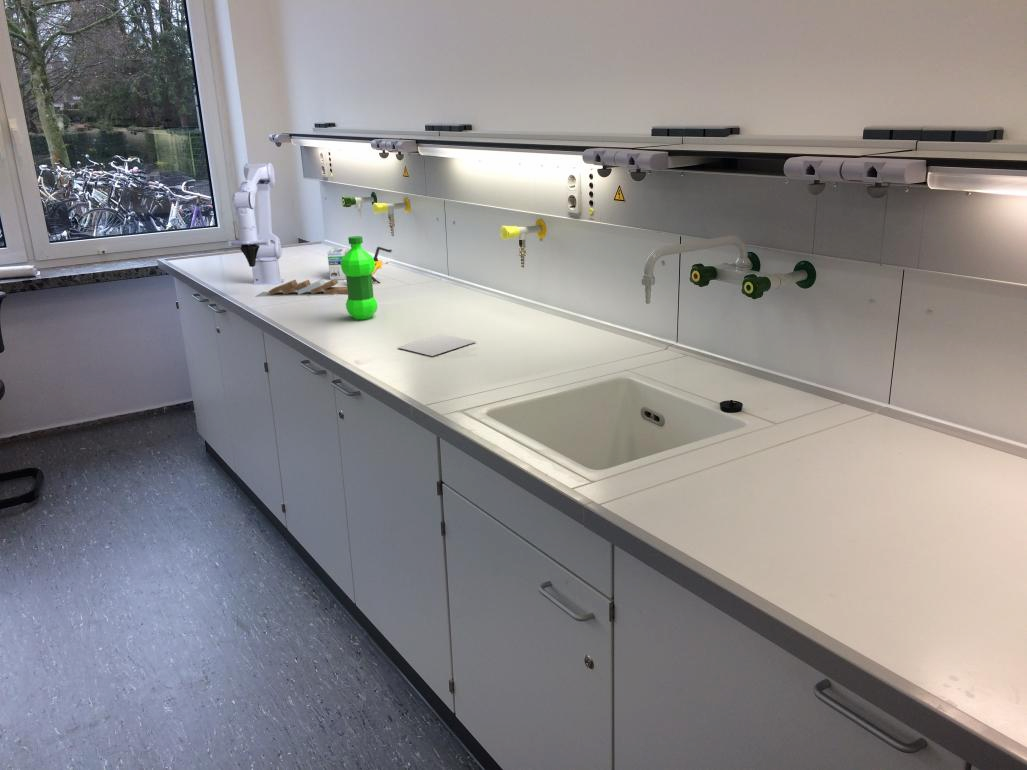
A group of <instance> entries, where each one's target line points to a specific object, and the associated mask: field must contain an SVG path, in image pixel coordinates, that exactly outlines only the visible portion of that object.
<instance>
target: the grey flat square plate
mask: <svg viewBox="0 0 1027 770" xmlns="http://www.w3.org/2000/svg"><path fill="white" fill-rule="evenodd" d="M473 343H477V341H476V340H470V339H468V338H467V339H466V338H463V337H462V338H461V337H458V336H453V335H448V334H444V333H440V334H436V335H434V336H430V337H427V338H424V339H420V340H417V341H414V342H413V341H412V342H410V343H407V344H403V345H400V346H397V348H398V349H401V350H405V351H410V352H414V353H417V354H421V355H422V354H423V355H426V356H430V357H434V356H437V355H440V354H443V353H445V352H449V351H452V350H455V349H456V350H457V349H459V348H461V347H465V346H467V345H471V344H473Z"/></svg>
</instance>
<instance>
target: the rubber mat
mask: <svg viewBox="0 0 1027 770" xmlns="http://www.w3.org/2000/svg"><path fill="white" fill-rule="evenodd" d="M334 295H335V294H324V290H322V291H320V292H317V293H315V294H313V295H312V293H311V291H307V292H305V293H302V294H300V295H298V293H297V290H296V291H294V292H291V293H288V294H286V295H283V292H282V291H281V292H278V293H276V294H273V295H270V293H269V291H261V292H260V293H258V294H257V295H255V297H257V298H259V297H304V296H306V297H314V296H316V297H317V296H318V297H319V296H334Z"/></svg>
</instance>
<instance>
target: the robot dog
mask: <svg viewBox="0 0 1027 770" xmlns="http://www.w3.org/2000/svg"><path fill="white" fill-rule="evenodd" d="M380 250H381V251H383V252H387V253H392V252H393V250H392V249H388V248H384V247H381V246H377V247H376V250H375V253H374V256H373V259H374V261H375V270H374V272H373V273H372V282H375V283H377V284H381V282H380V281H379V280H377V279H376V278H375V277H374V274H375V273H376V272H377V271H378V270H379V269H382V268H383V260H381V259H379V258H378V257H379V253H380ZM345 276H346V275H345Z"/></svg>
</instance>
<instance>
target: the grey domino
mask: <svg viewBox="0 0 1027 770" xmlns="http://www.w3.org/2000/svg"><path fill="white" fill-rule="evenodd" d="M324 283H326V282H325V279H323V278H322V279H320V280H317V281H315V282H311V284H310V285H308V286H307V287H304V288H302V289H299V290H296V291H297V293H298V295H300V294H302V293H305V292H307V291H310V290H312V289H315V288H317V287H320V286H322V285H323V284H324Z"/></svg>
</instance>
